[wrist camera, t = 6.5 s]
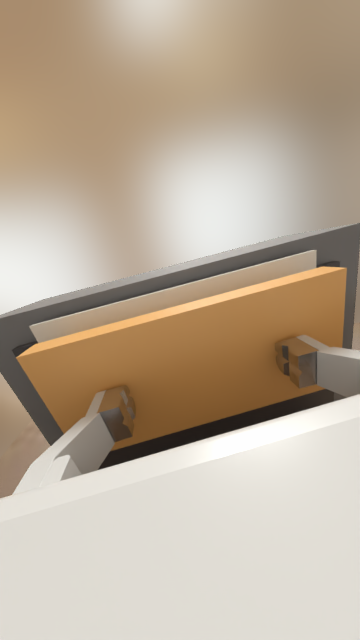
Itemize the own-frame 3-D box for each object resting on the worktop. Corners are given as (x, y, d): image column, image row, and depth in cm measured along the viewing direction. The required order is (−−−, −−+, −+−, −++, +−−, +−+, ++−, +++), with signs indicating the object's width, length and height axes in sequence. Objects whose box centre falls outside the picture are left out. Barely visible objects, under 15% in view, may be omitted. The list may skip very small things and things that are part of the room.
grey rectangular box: (356, 430, 17) (378, 219, 11) (82, 512, 17) (-48, 332, 11) (291, 373, 26) (284, 236, 20) (107, 426, 25) (43, 299, 19)
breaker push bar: (340, 384, 11) (346, 267, 9) (80, 459, 11) (15, 357, 8) (303, 358, 14) (301, 265, 12) (96, 417, 14) (51, 332, 11)
